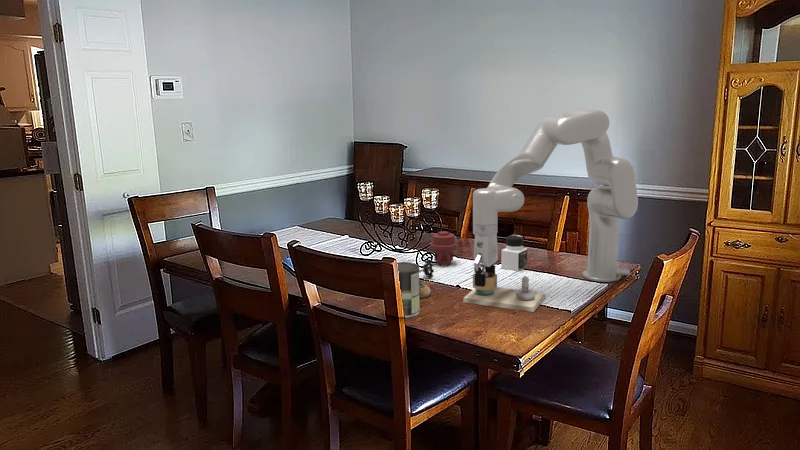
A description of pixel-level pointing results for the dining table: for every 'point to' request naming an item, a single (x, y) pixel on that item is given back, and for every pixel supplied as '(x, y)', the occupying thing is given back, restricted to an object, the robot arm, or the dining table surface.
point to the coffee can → (409, 288)
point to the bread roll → (423, 290)
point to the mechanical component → (443, 247)
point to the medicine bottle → (514, 254)
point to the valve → (427, 269)
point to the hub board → (507, 297)
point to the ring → (487, 282)
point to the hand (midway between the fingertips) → (485, 281)
